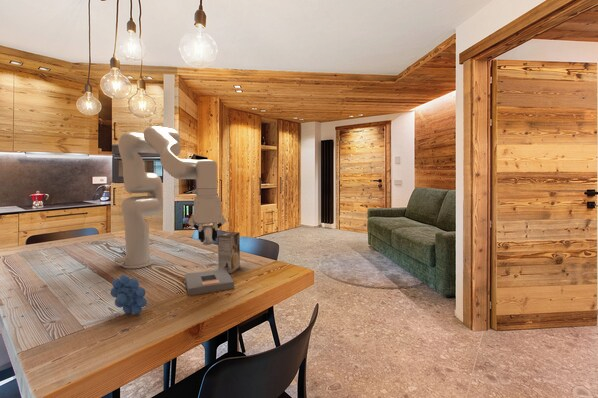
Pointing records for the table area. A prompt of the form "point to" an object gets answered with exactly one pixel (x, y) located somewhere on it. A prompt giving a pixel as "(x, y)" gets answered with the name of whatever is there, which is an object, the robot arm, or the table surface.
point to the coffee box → (229, 251)
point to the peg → (207, 234)
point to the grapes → (128, 294)
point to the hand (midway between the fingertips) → (207, 240)
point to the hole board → (208, 281)
